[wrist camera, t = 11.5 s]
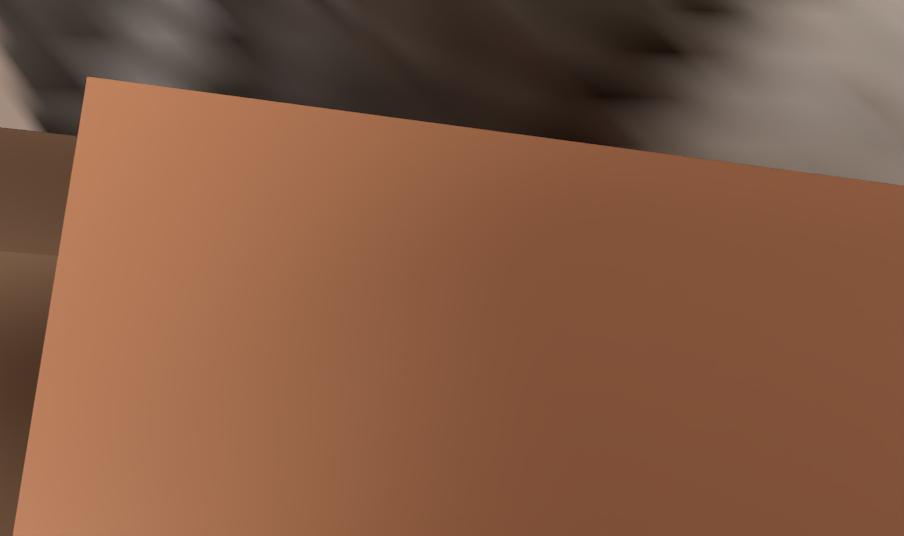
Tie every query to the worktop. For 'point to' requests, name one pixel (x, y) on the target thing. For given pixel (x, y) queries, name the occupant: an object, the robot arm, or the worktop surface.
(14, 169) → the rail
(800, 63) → the worktop surface
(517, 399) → the clip
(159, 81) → the worktop surface
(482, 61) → the worktop surface
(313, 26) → the worktop surface
